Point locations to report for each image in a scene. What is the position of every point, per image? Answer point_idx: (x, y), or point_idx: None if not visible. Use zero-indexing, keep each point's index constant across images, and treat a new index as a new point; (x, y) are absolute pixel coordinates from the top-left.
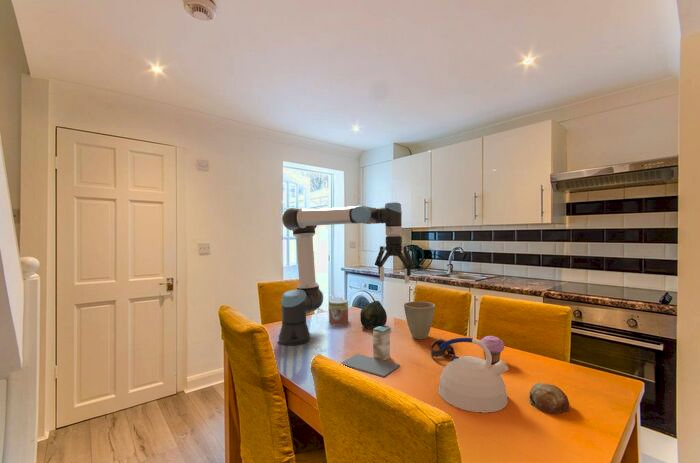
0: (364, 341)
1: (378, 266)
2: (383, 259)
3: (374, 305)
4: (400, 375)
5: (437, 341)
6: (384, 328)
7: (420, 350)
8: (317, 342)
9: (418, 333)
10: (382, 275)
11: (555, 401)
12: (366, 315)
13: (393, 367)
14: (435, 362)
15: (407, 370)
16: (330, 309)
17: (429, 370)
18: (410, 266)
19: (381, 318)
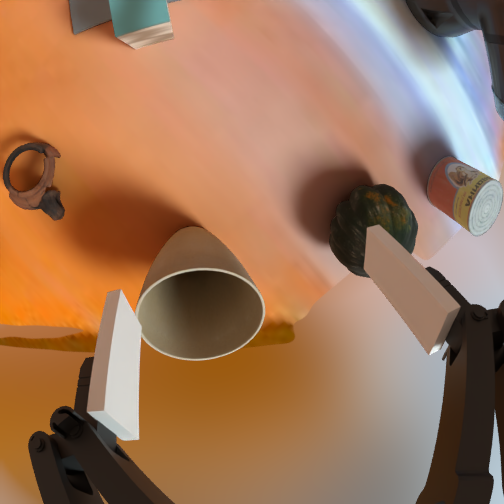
0: (294, 88)
1: (476, 307)
2: (478, 409)
3: None
4: (44, 5)
5: (37, 184)
6: (127, 16)
7: (109, 162)
8: (387, 7)
9: (174, 235)
10: (391, 274)
11: None
12: (383, 199)
13: (75, 8)
14: (31, 132)
15: (46, 35)
16: (481, 172)
17: (14, 84)
18: (45, 442)
19: (339, 230)
